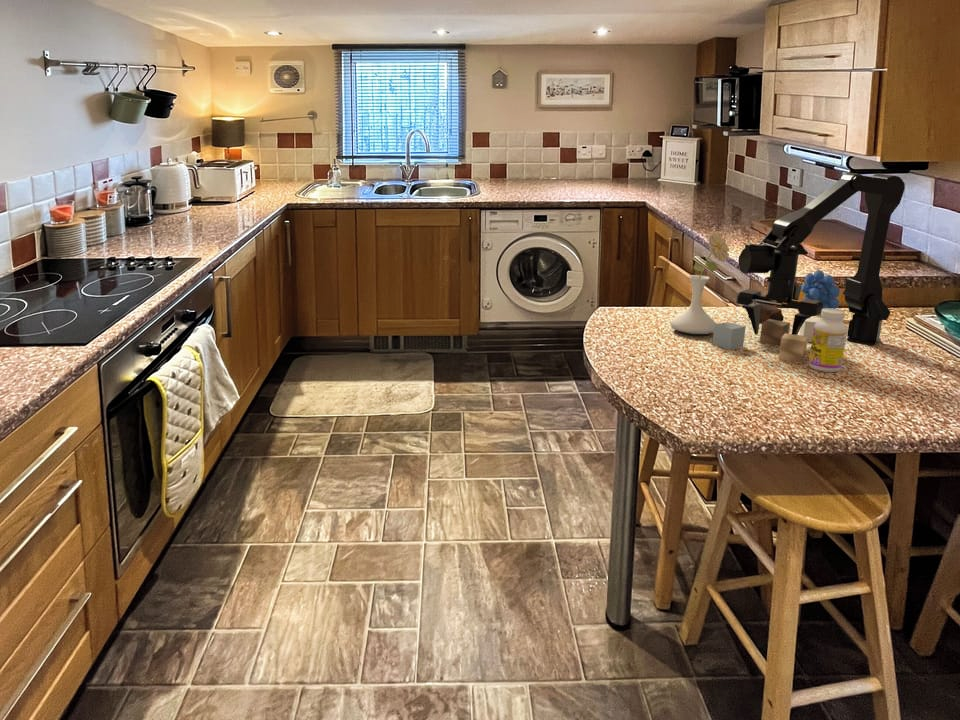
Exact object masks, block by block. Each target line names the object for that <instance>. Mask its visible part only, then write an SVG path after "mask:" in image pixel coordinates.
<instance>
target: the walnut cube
mask: <svg viewBox="0 0 960 720" xmlns="http://www.w3.org/2000/svg"><path fill="white" fill-rule="evenodd" d="M790 328H791V322H789V321H784V320H783V321H778V320H772V319H769V320H766V321H764V322H762V324H761V329H760V336H759V343H760V344H765V345H768V346H775V347H780V344H781V338H782V337H783V335H784V334H785V333H786V334H790Z"/></svg>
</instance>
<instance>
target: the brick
mask: <svg viewBox="0 0 960 720" xmlns="http://www.w3.org/2000/svg"><path fill="white" fill-rule="evenodd" d="M759 304H762V303H759ZM782 312H783V310H782V309H781V308H779V307H777V306H774V305H768V304H762V307H761V310H760V321H759V324H760V323H761V325H762V322H764V321H766V320H769V319H772V320H778V321H784V319H785V318H784V317H785V316H784V315H783V313H782ZM747 315H748V314H747ZM748 317H749V315H748V316H747V318H748Z"/></svg>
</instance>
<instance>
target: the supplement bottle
mask: <svg viewBox="0 0 960 720" xmlns="http://www.w3.org/2000/svg"><path fill="white" fill-rule="evenodd" d="M845 314H846V311H844V310H842V309H839V308H836V309H833V308H825V309H822V311H821V313H820V315H821V317H820V318H821V320H819V321H817V322H816V323H815V325H814V332H813V338H812V342H811V345H810V346H811V347H810V352H809V356H808V357H809V360H808V366H809V367H810V368H811V369H812V370H815V371H819V372H825V373H836V372H839V371H840V370H841V369H842V366H843V365H842V364H843V361H844V355H845V354H844V353H845V347H846V341H847V333H848V326H847V324H846V323H844V320H845V316H846V315H845Z"/></svg>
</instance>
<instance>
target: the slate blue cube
mask: <svg viewBox="0 0 960 720" xmlns="http://www.w3.org/2000/svg"><path fill="white" fill-rule="evenodd" d="M746 329H747V328H746V326H745V325H742V324H738V323H734V322H729V321H726V322H720V323H716V324H714V332H712V333H713V335H712V344H711V345H712V346H715V347H718V348H721V349H725V350H728V351H729V350H730V351H731V350H736V349H741V348H744V342H745V335H746V334H745V333H746Z"/></svg>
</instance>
